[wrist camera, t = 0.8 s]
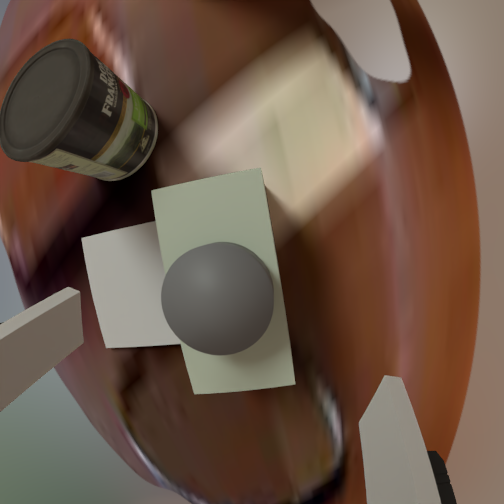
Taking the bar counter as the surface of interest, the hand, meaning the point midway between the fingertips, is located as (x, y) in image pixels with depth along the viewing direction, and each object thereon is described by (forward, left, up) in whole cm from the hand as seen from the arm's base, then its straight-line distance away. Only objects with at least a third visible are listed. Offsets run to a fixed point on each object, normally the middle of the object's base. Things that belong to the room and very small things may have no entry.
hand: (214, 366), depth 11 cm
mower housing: (+5, -6, -19) cm, 20 cm away
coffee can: (-2, -22, -19) cm, 29 cm away
